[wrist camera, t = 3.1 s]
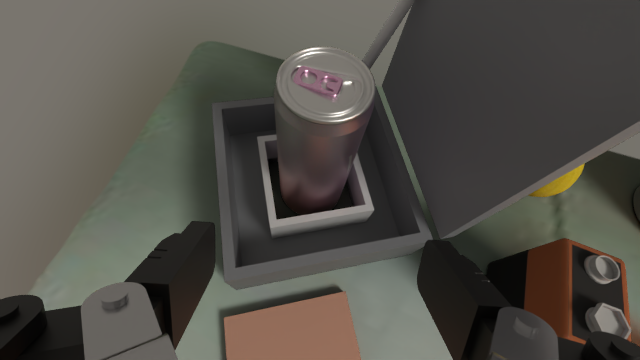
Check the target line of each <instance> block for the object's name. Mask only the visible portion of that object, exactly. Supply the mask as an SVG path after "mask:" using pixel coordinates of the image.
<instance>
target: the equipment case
mask: <svg viewBox="0 0 640 360" xmlns="http://www.w3.org/2000/svg"><path fill="white" fill-rule="evenodd" d="M412 4H413V5H412ZM411 6H412V7H411ZM410 7H411V10H410V13H409V15H408V18H407V21H406V23H405V26H404V29H403V31H402V34H401V36H400V39H399V42H398V45H397V47H396V50H395V52H394V55H393V58H392V60H391V63H390V66H389V68H388V71H387V74H386V76H385V79H384V81H383V84H382V88H383V90H384V93H385V96H386V98H387V101H388V103H389V106H390V109H391V111H392V114H393V117H394V119H395V122H396V124H397V127H398V130H399V132H400V135H401V137H402V140H403V143H404V145H405V148H406V151H407V153H408V156H409V158H410V161H411V164H412V166H413V169H414V172H415V174H416V177H417V179H418V182H419V185H420V187H421V190H422V192H423V195H424V198H425V200H426V203H427V206H428V208H429V211H430V213H431V216H432V219H433V221H434V224H435V227H436V229H437V232H438V234H439V237H440V239H444V238H449V237H454V236H456V235H458V234H459V233H461V232H463V231H465V230H466V229H468V228H470V227H472V226H474V225H475V224H477V223H479V222H481V221H483V220H484V219H486V218H488V217H490V216H491V215H493V214H495V213H497V212H499V211H500V210H502V209H504V208H506V207H508V206H509V205H511V204H513V203H515V202H516V201H518V200H520V199H522V198H524V197H525V196H527V195H529V194H531V193H533V192H534V191H536V190H538V189H540V188H541V187H543V186H545V185H547V184H549V183H550V182H552V181H554V180H556V179H558V178H559V177H561V176H563V175H565V174H566V173H568V172H570V171H572V170H574V169H575V168H577V167H579V166H581V165H583V164H584V163H586V162H588V161H590V160H591V159H593V158H595V157H597V156H599V155H600V154H602V153H604V152H606V151H608V150H609V149H611V148H613V147H615V146H616V145H618V144H620V143H622V142H624V141H625V140H627V139H629V138H631V137H633V136H634V135H636V134H638V133H639V132H640V0H399V1H398V3H397V4H396V6H395V7H394V9H393V11H392V13H391V14H390V16H389V17H388V19H387V21H386V22H385V24H384V25H383V27H382V29H381V30H380V32H379V34H378V35H377V37H376V39H375V40H374V42H373V44H372V45H371V47H370V48H369V50H368V52H367V53H366V55H365V57H364V58H363V60H362V61H363V62H364V63H365V64H366V65H367V67H368V68H369V69H370V68H371V67H372V65H373V64H374V62H375V61H376V59H377V58H378V56H379V55H380V53H381V52H382V50H383V48H384V47H385V46H386V44H387V42H388V41H389V39H390V38H391V36H392V35H393V33H394V32H395V30H396V29H397V27H398V26H399V24H400V23H401V21H402V19H403V18H404V17H405V15H406V13H407V12H408V10H409V9H410ZM212 113H213V127H214V141H215V154H216V168H217V182H218V196H219V210H220V224H221V238H222V252H223V266H224V280H225V282H226V283H227V284H229V285H230V286H231V287H233V288H234V289H236V290H238V289H243V288H248V287H253V286H258V285H263V284H267V283H272V282H277V281H282V280H287V279H292V278H297V277H302V276H307V275H312V274H317V273H322V272H327V271H331V270H336V269H341V268H346V267H351V266H356V265H361V264H366V263H371V262H376V261H381V260H386V259H391V258H395V257H400V256H405V255H410V254H412V253H414V252H416V251H417V250H419V249H420V248H422V247H424V245H425V243H426V241H427V240H433V238H432V235H431V233H430V230H429V227H428V225H427V222H426V219H425V217H424V214H423V211H422V208H421V206H420V203H419V200H418V198H417V195H416V192H415V190H414V187H413V184H412V182H411V179H410V176H409V173H408V171H407V168H406V165H405V163H404V160H403V157H402V155H401V152H400V149H399V147H398V144H397V141H396V138H395V136H394V133H393V130H392V128H391V125H390V122H389V120H388V117H387V114H386V112H385V109H384V106H383V103H382V101H381V98H380V95H379V93H378V90H377V87H375V96H374V108H373V111H372V114H371V117H370V119H369V122H368V125H367V127H366V130H365V132H364V135H363V138H362V140H361V143H360V146H359V148H358V151H357V154H356V156H355V159H354V162H353V164H352V167H351V169H350V172H349V175H348V177H347V180H346V183H347V186H348V190H349V194H350V198H351V201H352V205H353V207H349V208H343V209H337V210H331V211H325V212H319V213H313V214H307V215H301V216H295V217H290V218H284V219H278V220H277V219H276V213H275V206H274V200H273V193H272V187H271V180H270V174H269V167H268V163H270V162H277V161H278V149H277V135H276V121H275V107H274V97H266V98H256V99H247V100H237V101H227V102H217V103H212Z"/></svg>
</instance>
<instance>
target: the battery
mask: <svg viewBox="0 0 640 360" xmlns="http://www.w3.org/2000/svg"><path fill="white" fill-rule="evenodd" d="M487 278H488V279H489V280H490V283H492V284H493V285H494V286H495V287H496V288H497V290H498V291H499V292H500V293H501V294H502V295H503V296H504V298H505V299H506V300H507V301H508V302H509V303H510V305H511V306H512V307H516V308H520V309H523V310H526V311H528V312H531V313H533V314H534V315H536V316H538V317H540V318H541V319H543V320H544V321H545V322H546V323H548V324H549V325H550V326H551V327H552V329H553V330H554V331H555V333H556V335H557V336H558V337H561V338H565V339H568V340H572V341H575V342H579V343H582V344H585V343H586V341H587V339H588V337H589V335H590V334H591V333H592V332H594V331H603V332H608V333H612V334H614V335H617V336H620V337H622V338H624V339H626V340H628V341H630V342H631V331H632V330H631V328H630V318H629V306H628V293H627V281H626V269H625V264H624V262H623V261H622V260H621V259H619V258H616V257H614V256H611V255H608V254H606V253H603V252H601V251H598V250H595V249H593V248H590V247H588V246H585V245H582V244H580V243H577V242H575V241H572V240H569V239H566V238H563V239H560V240H557V241H554V242H551V243H548V244H545V245H542V246H538V247H535V248H532V249H529V250H526V251H523V252H520V253H517V254H514V255H511V256H508V257H505V258H502V259H499V260H496V261H493V262H490V263H489V265H488V269H487Z"/></svg>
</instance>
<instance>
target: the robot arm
mask: <svg viewBox="0 0 640 360" xmlns="http://www.w3.org/2000/svg"><path fill="white" fill-rule="evenodd" d="M633 204H634V210H635V212H636V215H637V218H638V220H639V221H640V186H639V187H638V188H637V189H636V191H635V193H634V199H633ZM214 268H215V225H214V223H212V222H199V221H192V222H191V223H190V224H189V225H188V226H187V227H186V229H185V230H184V231H183V232H182V233H181V234H179V233H174V234H173V235H171V236H169V237H167V238H165V239H164V240H162V241H161V242H160V243H159V244H158V245H157V246H156V248H155V249H154V251H152V252H151V253H150V254H149V255H148V257H147V258H145V260H144V261H143V262H142V263H141V264H140V265H139V266H138V267H137V268H136V269H135V270H134V272H133V273H132V274H131V275H130V276H129V277H128V278H127V279H126V280H125V281H124V282H122V283H116V284H112V285H109V286H106V287H103V288H101V289H99V290H97V291H96V292H94V293H92V294H91V295H90V296H89V297H87V299H86V300H85V301H84V302H83V304H82V305H81V306H76V307H69V308H63V309H56V310H50V311H45V309H44V305H43V301H42V300H41V299H40V298H39V297H37V296H33V295H18V296H12V297H8V298H4V299H0V360H178V358H177V356H176V353H175V349H176V347H177V345H178V343H179V341H180V339H181V337H182V335H183V333H184V331H185V329H186V327H187V325H188V323H189V321H190V319H191V317H192V315H193V313H194V311H195V309H196V307H197V305H198V303H199V301H200V299H201V297H202V295H203V293H204V291H205V289H206V287H207V285H208V283H209V281H210V279H211V277H212V275H213V272H214ZM417 285H418V289H419V292H420V294H421V296H422V298H423V300H424V302H425V304H426V306H427V308H428V310H429V312H430V314H431V316H432V318H433V320H434V322H435V324H436V326H437V328H438V330H439V332H440V334H441V336H442V338H443V340H444V342H445V344H446V346H447V348H448V350H449V352H450V354H451V356H452V358H453V360H640V347H639V346H637V345H636V344H634V343H632V342H630V341H628V340H626V339H624V338H622V337H620V336H617V335H614V334H612V333H608V332H603V331H594V332H592V333H591V334H590V335H589V337H588V339H587V341H586V343H585V344H582V343H579V342H575V341H572V340H568V339H565V338H561V337H558V336H557V335H556V333H555V331H554V330H553V329H552V327H551V326H550V325H549V324H548V323H546V322H545V321H544V320H543V319H541V318H540V317H538V316H536V315H534V314H533V313H531V312H528V311H526V310H523V309H520V308H516V307H512V306H511V305H510V303H509V302H508V301H507V300H506V299H505V298H504V296H503V295H502V294H501V293H500V292H499V291H498V290H497V288H496V287H495V286H494V285H493V284H492V283H490V280H489V279H488V278H487V277H486V276H485V275H483V272H482V271H481V270H480V269H479V268H478V267H477V265H476V264H475V263H473V262H472V261H470V260H469V259H467V258H466V257H465V256H463V255H460V254H459V253H458V251H457V250H456V249H455V248H454V247H453V245H452V244H451V243H450V242H449V241H441V240H427V241H426V243H425V245H424V249H423V254H422V258H421V262H420V266H419V270H418V275H417Z"/></svg>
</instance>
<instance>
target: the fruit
mask: <svg viewBox="0 0 640 360" xmlns="http://www.w3.org/2000/svg"><path fill="white" fill-rule="evenodd" d="M584 165H585V163H584V164H583V165H581V166H579V167H577V168H575V169H574V170H572V171H570V172H568V173H566V174H565V175H563V176H561V177H559V178H558V179H556V180H554V181H552V182H550V183H549V184H547V185H545V186H543V187H541V188H540V189H538V190H536V191H534V192H533V193H531V194H529V196H535V197H547V196H551V195H555V194H558V193H561V192H563V191H565V190H566V189H568V188H569V187H570V186H571V185H572V184H573V183H574V182H575V181H576V180H577V179H578V178H579V176H580V175H581V173H582V170H583V168H584Z"/></svg>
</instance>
